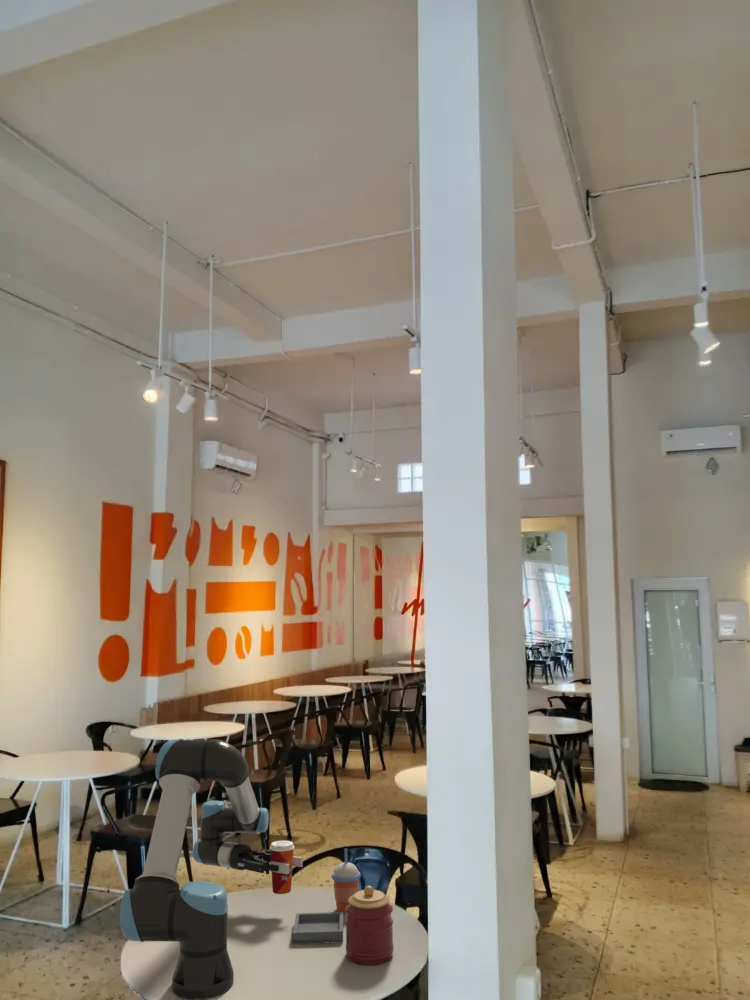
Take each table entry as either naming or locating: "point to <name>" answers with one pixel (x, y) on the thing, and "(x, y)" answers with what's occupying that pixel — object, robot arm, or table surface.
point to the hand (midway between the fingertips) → (295, 865)
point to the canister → (369, 927)
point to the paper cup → (282, 854)
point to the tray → (318, 927)
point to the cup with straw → (345, 883)
